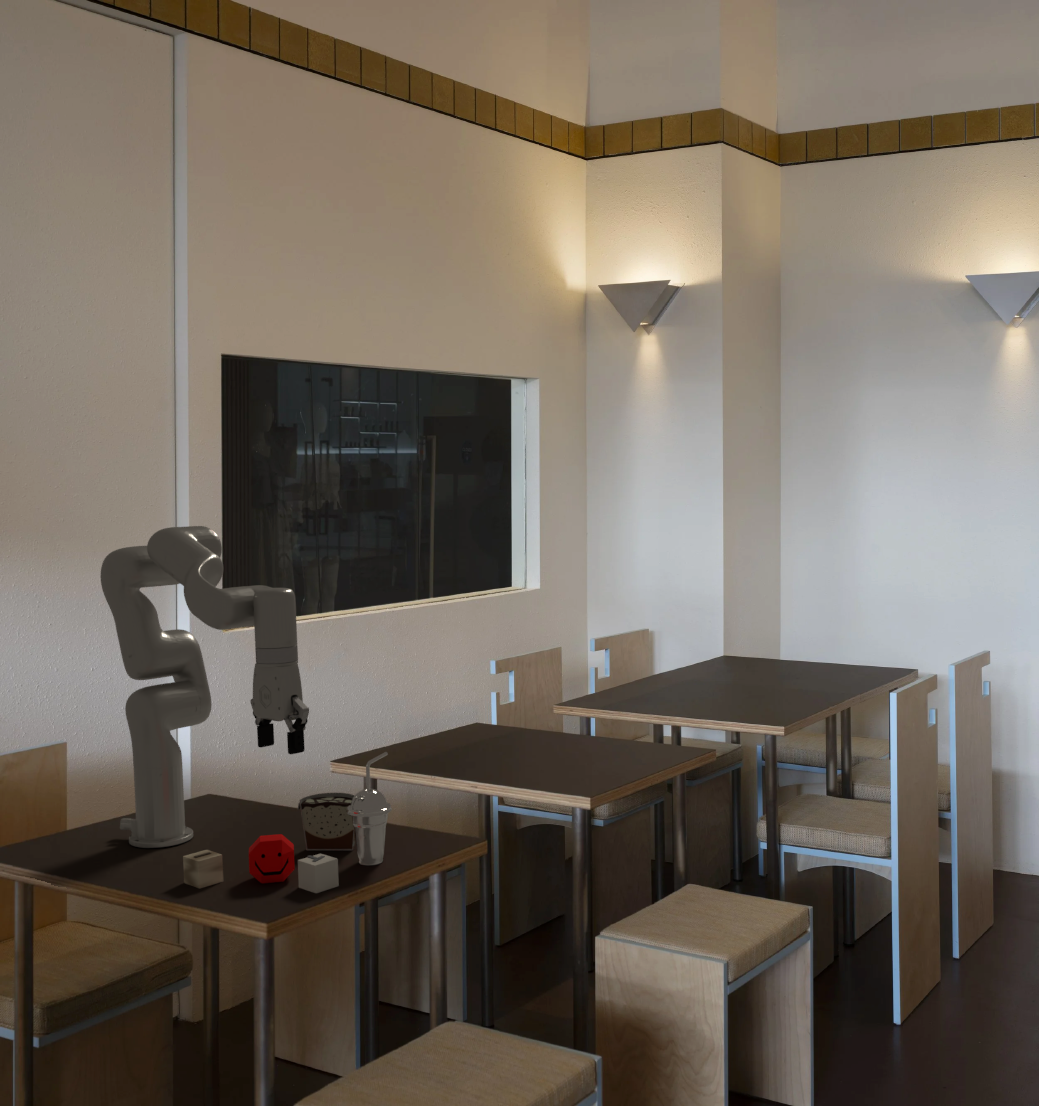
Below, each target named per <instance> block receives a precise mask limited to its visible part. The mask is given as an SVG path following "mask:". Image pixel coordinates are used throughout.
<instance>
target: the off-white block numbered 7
mask: <svg viewBox="0 0 1039 1106" xmlns="http://www.w3.org/2000/svg"><path fill="white" fill-rule="evenodd" d="M297 875H298V876H297V877H298V888H299V889H302V890H305V891H308V892H311V893H314V894H319V893H321V892H322V893H323V892H325V891H327V890H331V889H334V888H337V887H339V886H340V885H339V883H340V881H339V859H338V858H337V857H333V856H330V855H327V854H324V853H318V854H315V855H314V854H313V855H306V857H305V858H304V857H303V858H300V859H297Z"/></svg>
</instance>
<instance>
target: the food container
mask: <svg viewBox="0 0 1039 1106" xmlns="http://www.w3.org/2000/svg"><path fill="white" fill-rule="evenodd" d="M355 795H356V794H353V793H349V792H348V793H346V792H323V793H316V794H310V795H306V796H304V797H302V798H300V799H299V802H298V804H297V811H299V810H300V814H301V815H300V816H301V821H302V828H303V829H302V830H303V836H304V843H305V850H306V851H354V850H355V843H356V839H355V832H354V827H353V824H352V821H351V815H349V814H347V812H346V811H347V807H348V806H349V805H351V802H352V799H353V797H354V796H355Z"/></svg>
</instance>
